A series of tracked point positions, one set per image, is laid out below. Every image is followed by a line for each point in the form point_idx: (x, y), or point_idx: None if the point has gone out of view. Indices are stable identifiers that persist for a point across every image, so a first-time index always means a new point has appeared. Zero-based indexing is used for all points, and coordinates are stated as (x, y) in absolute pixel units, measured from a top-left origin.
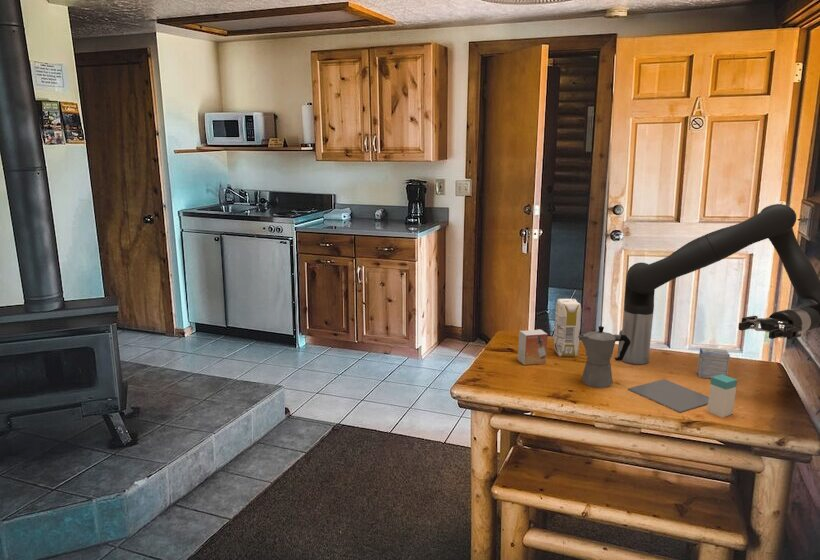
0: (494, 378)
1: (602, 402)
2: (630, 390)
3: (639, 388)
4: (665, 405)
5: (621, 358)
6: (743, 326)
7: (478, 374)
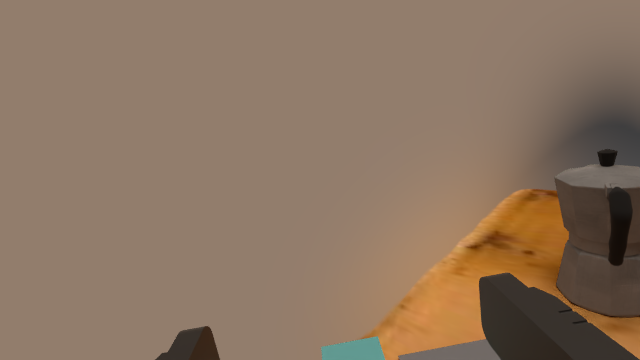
0: None
1: (470, 271)
2: None
3: None
4: (440, 348)
5: (609, 257)
6: (500, 325)
7: None
